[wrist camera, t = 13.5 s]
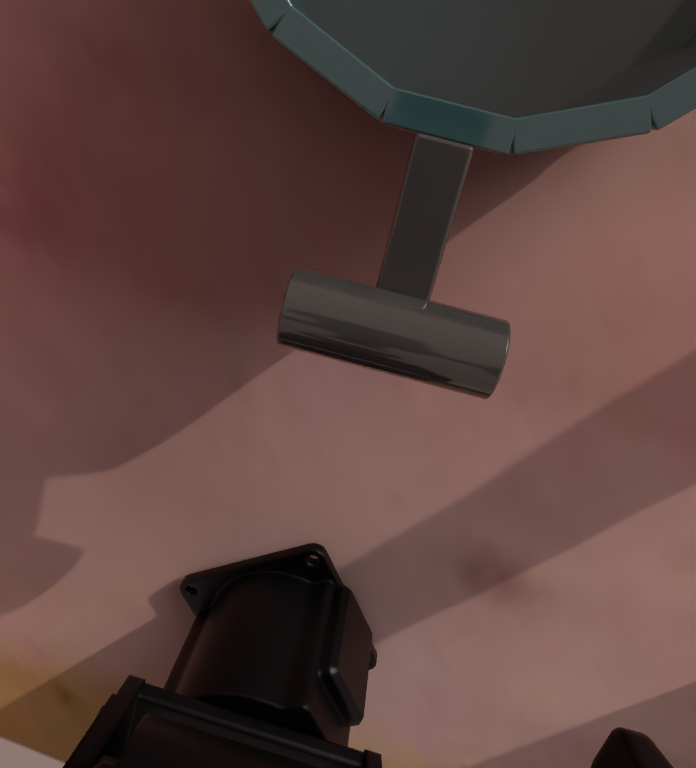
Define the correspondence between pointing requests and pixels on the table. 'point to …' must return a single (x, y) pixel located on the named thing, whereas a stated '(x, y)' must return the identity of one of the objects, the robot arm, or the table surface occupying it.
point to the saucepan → (467, 143)
